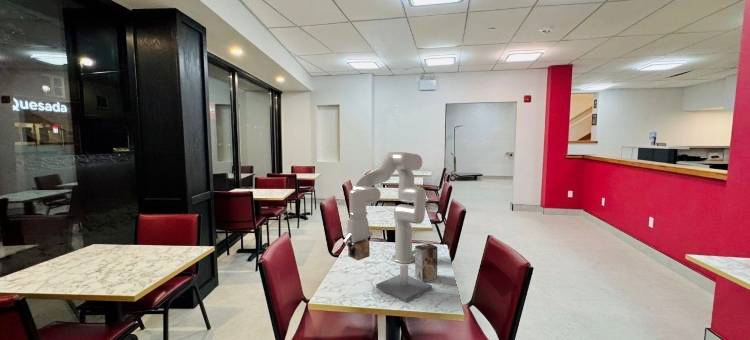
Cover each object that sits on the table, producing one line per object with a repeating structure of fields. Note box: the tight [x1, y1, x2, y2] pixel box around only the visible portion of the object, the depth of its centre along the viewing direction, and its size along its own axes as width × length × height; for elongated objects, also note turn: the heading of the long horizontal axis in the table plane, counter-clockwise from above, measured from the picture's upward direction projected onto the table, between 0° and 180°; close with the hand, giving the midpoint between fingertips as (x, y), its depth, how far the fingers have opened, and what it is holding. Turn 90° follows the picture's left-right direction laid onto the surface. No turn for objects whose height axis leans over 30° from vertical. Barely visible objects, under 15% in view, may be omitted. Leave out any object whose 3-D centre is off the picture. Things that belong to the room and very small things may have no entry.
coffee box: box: [414, 243, 438, 283], centre depth 152 cm, size 9×6×16 cm
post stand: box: [375, 263, 433, 303], centre depth 141 cm, size 18×18×10 cm
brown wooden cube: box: [347, 240, 371, 261], centre depth 143 cm, size 7×7×7 cm
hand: (358, 253), depth 143 cm, fingers closed on brown wooden cube, 7 cm apart
